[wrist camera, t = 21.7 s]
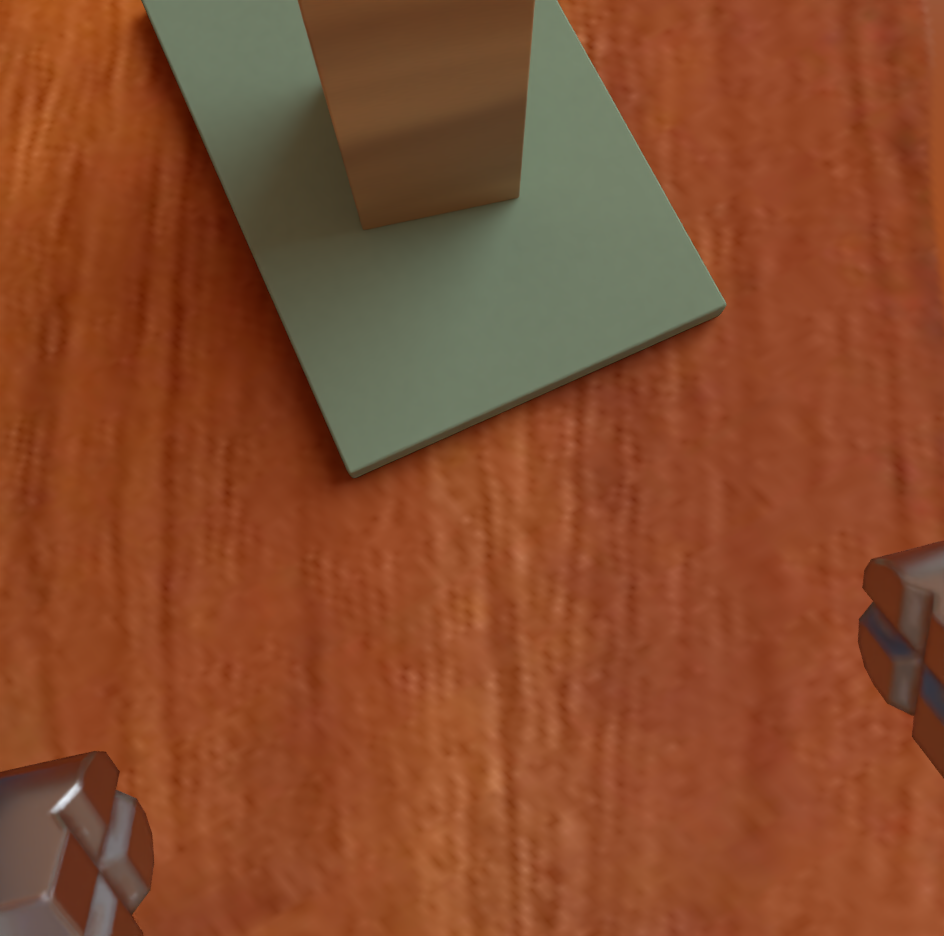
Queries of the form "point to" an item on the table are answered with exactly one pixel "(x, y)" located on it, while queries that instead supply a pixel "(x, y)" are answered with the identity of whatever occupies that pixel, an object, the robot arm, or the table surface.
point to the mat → (435, 237)
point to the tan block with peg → (424, 100)
